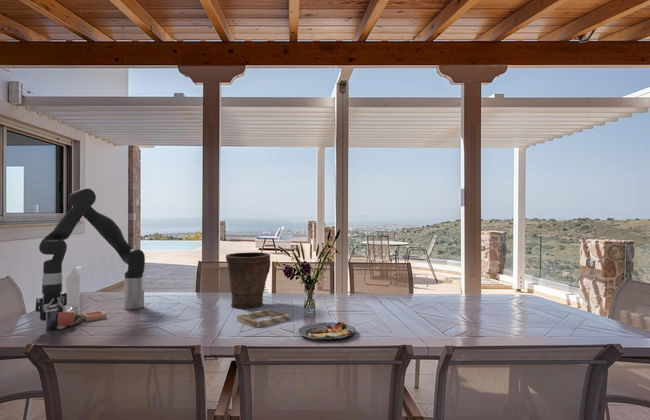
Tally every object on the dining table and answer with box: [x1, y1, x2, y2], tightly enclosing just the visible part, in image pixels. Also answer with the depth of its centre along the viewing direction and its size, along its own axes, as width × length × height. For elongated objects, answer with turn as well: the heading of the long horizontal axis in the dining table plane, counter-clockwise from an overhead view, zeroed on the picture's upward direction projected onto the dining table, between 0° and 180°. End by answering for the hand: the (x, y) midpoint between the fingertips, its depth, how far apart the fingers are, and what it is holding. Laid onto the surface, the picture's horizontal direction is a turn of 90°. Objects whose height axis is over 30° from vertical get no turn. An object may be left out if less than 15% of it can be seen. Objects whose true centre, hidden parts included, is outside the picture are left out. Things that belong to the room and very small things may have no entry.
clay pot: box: [225, 251, 271, 310], centre depth 229 cm, size 25×29×30 cm
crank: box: [58, 307, 79, 327], centre depth 185 cm, size 12×6×6 cm, turn 20°
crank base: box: [74, 318, 84, 325], centre depth 189 cm, size 9×9×1 cm
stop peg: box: [45, 305, 59, 332], centre depth 178 cm, size 4×4×10 cm
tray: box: [80, 309, 107, 323], centre depth 197 cm, size 9×9×2 cm
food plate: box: [298, 321, 356, 340], centre depth 171 cm, size 25×23×4 cm
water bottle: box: [64, 265, 83, 317], centre depth 204 cm, size 9×6×25 cm
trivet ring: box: [236, 308, 290, 328], centre depth 194 cm, size 21×18×2 cm
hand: (51, 318), depth 178 cm, fingers open, 8 cm apart
